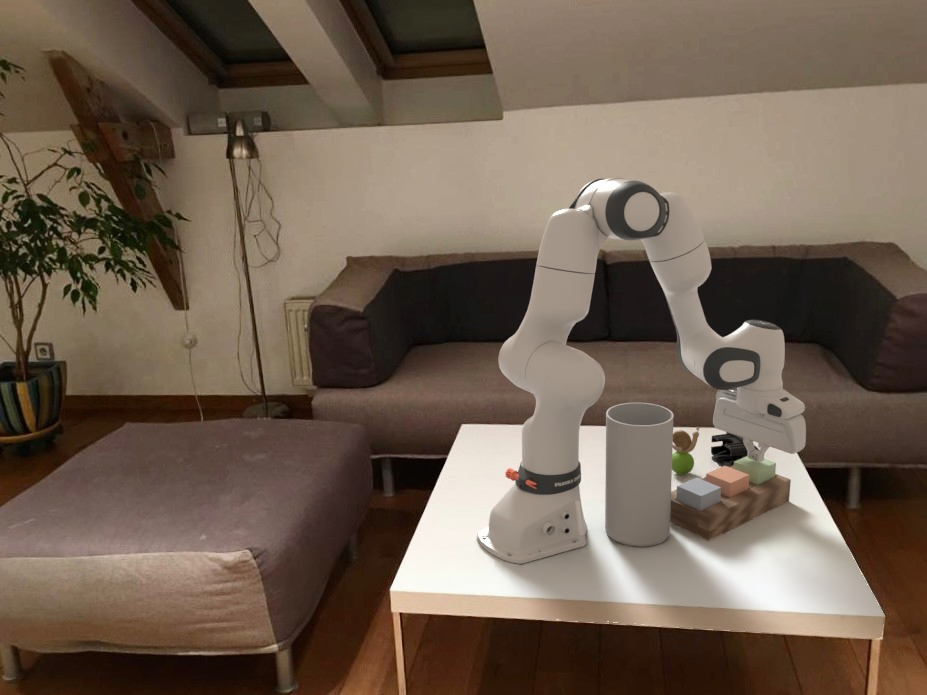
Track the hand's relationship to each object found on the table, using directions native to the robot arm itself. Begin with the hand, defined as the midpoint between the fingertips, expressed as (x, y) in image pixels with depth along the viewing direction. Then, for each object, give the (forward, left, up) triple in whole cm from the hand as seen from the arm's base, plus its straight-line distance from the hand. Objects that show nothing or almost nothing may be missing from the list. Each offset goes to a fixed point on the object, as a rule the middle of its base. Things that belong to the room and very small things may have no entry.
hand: (755, 459), depth 175 cm
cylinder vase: (-30, +5, -9) cm, 32 cm away
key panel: (-9, 0, -9) cm, 13 cm away
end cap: (+11, +13, -9) cm, 19 cm away
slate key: (-18, 0, -5) cm, 19 cm away
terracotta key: (-9, 0, -5) cm, 10 cm away
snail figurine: (-2, +17, -9) cm, 19 cm away
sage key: (0, 0, -5) cm, 5 cm away
